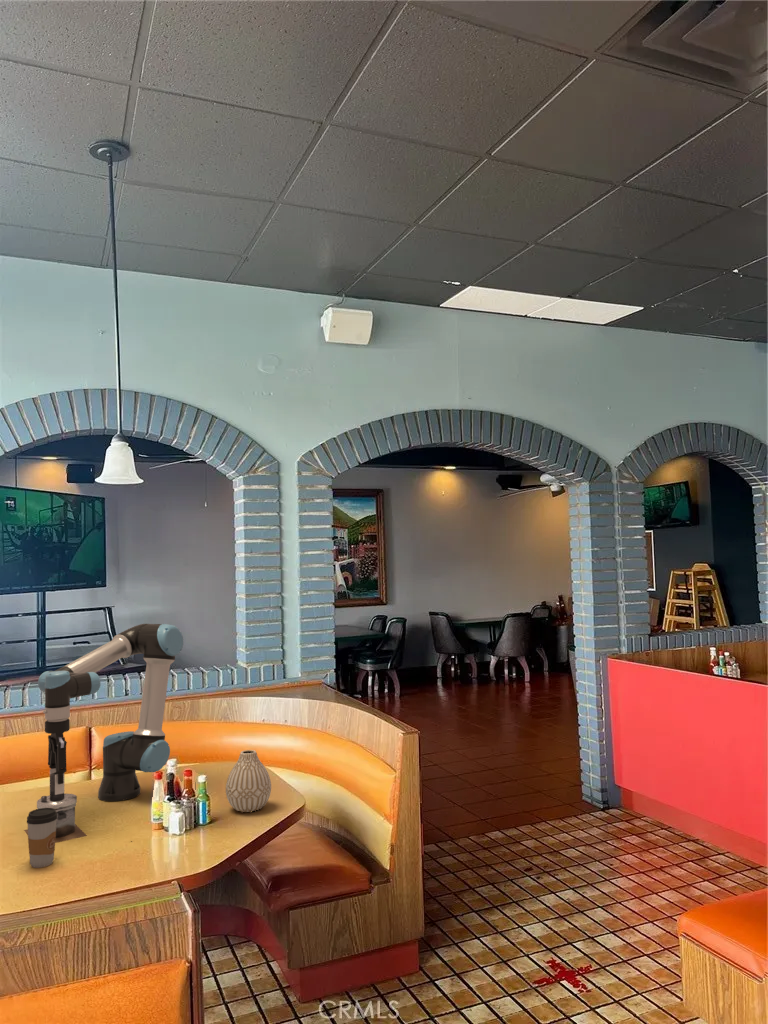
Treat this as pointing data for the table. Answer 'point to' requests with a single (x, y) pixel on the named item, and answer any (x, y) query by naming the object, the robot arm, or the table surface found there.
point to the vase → (248, 783)
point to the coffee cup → (41, 836)
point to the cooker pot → (65, 821)
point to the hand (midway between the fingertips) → (56, 791)
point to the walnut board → (75, 834)
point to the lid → (56, 798)
